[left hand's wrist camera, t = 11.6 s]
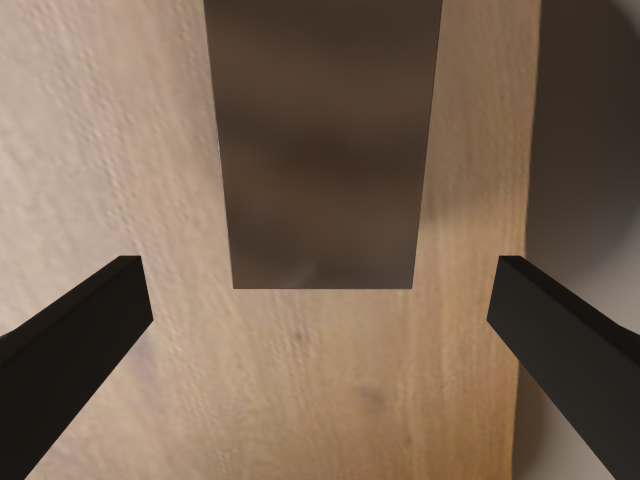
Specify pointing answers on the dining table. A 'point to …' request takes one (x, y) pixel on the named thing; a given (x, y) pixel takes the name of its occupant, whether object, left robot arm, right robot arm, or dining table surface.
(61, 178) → the dining table surface
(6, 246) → the dining table surface
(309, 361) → the dining table surface
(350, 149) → the cabinet
